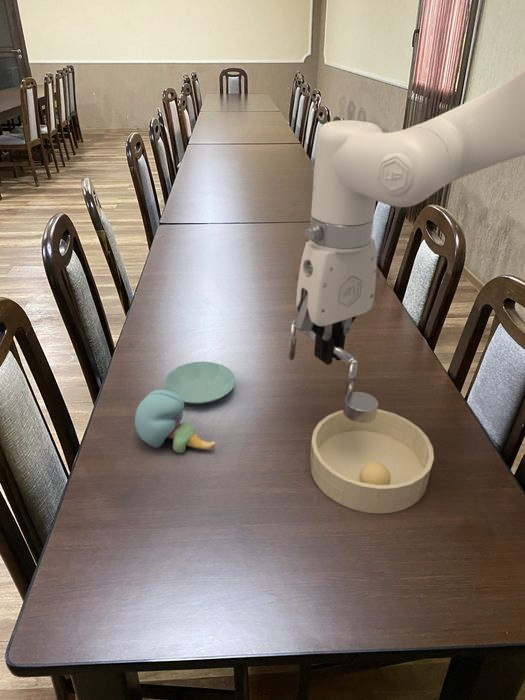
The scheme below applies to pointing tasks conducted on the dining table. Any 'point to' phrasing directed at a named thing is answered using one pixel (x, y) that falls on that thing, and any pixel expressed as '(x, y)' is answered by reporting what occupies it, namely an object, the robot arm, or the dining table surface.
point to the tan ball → (375, 474)
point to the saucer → (200, 382)
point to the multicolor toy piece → (166, 422)
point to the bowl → (371, 446)
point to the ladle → (356, 403)
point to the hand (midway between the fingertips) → (328, 357)
